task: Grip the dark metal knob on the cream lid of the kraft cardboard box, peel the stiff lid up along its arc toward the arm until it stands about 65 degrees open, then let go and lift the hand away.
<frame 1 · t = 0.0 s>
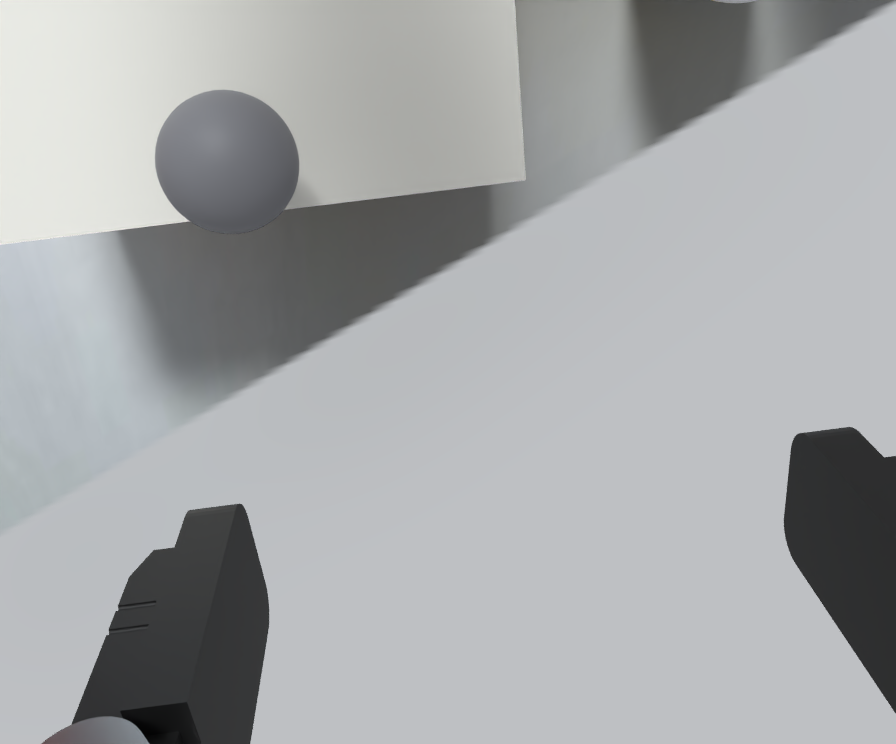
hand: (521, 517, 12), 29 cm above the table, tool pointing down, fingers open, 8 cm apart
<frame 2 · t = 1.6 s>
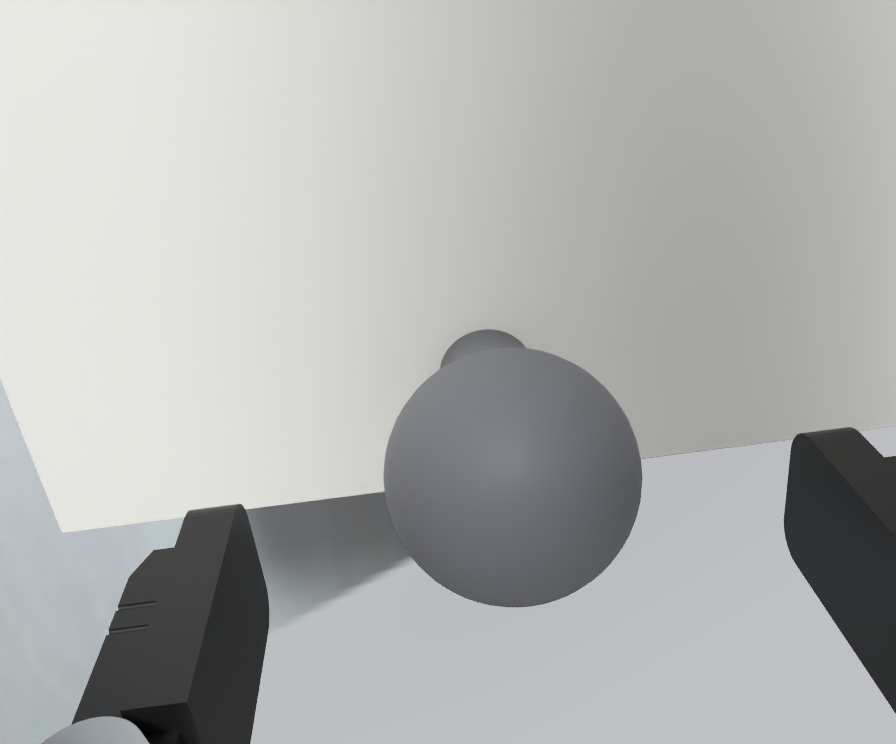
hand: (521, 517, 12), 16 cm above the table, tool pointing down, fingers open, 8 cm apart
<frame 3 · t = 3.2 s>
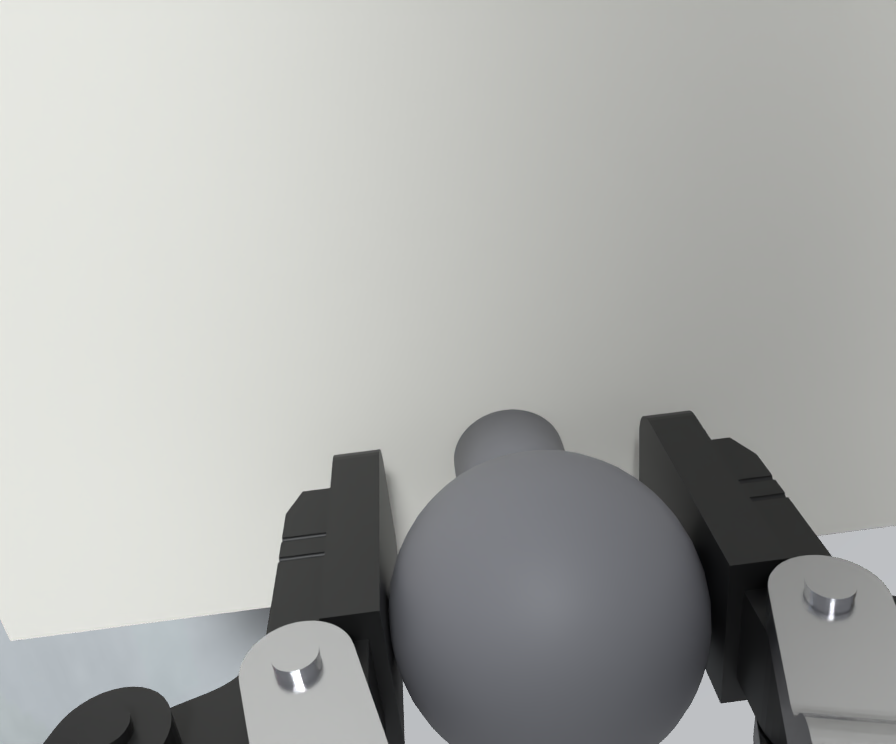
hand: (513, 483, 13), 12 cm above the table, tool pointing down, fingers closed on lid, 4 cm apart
lid: (490, 2, 9), point 13 cm above the table, hinge at 0.0°, touching gripper
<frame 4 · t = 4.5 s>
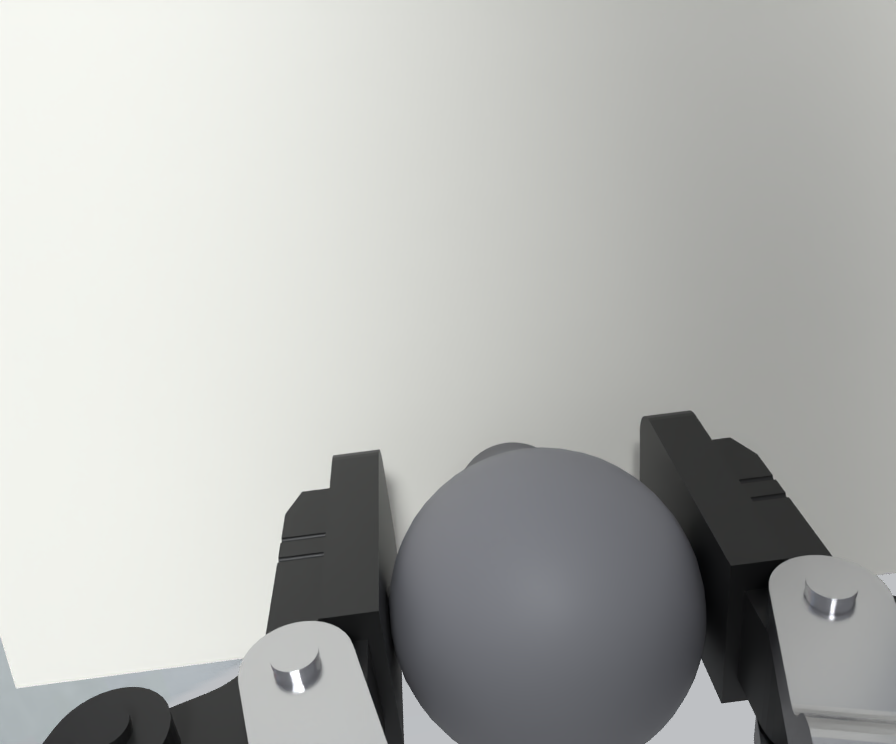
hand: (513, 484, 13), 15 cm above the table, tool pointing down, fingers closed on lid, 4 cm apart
lid: (478, 36, 10), point 15 cm above the table, hinge at 12.1°, touching gripper
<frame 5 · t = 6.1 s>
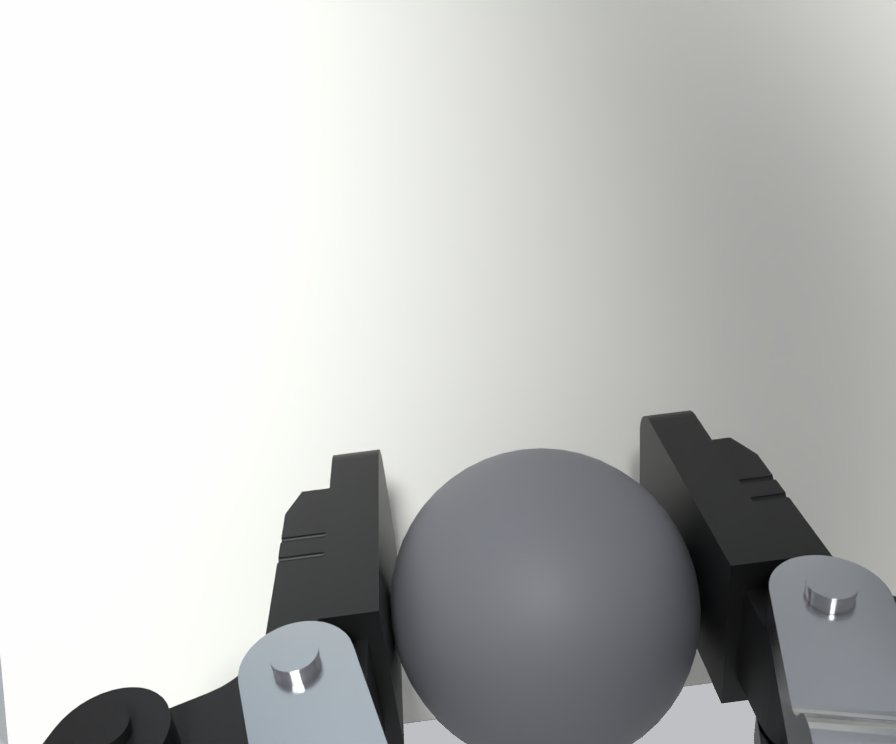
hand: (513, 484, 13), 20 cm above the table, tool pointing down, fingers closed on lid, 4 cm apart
lid: (471, 119, 13), point 18 cm above the table, hinge at 32.3°, touching gripper
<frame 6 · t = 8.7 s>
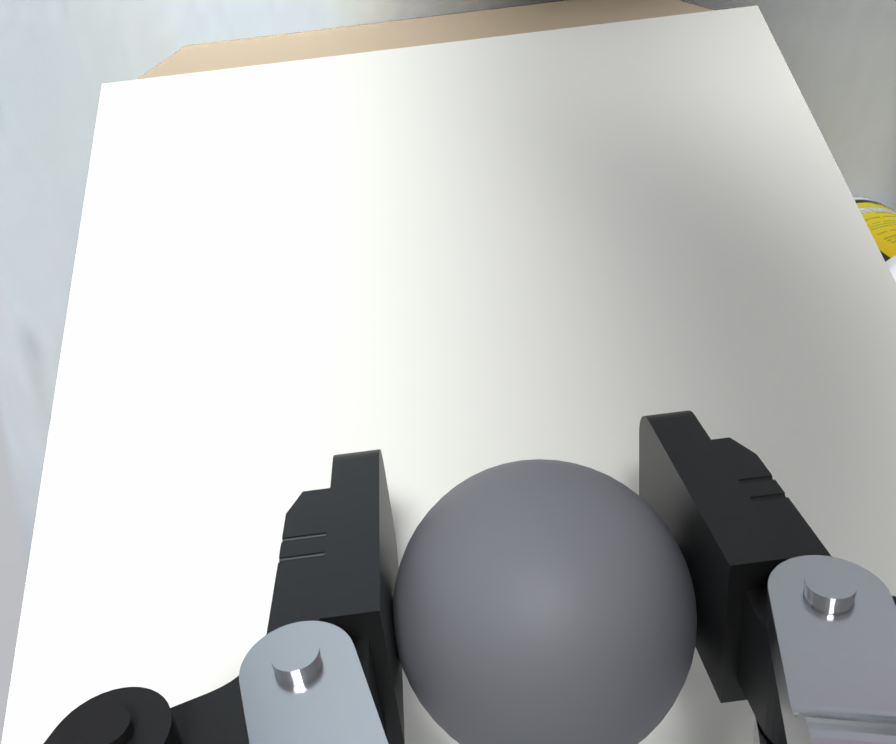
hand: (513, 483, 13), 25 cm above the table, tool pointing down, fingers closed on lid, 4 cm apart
carton: (442, 248, 37), on the table
supplement bottle: (833, 250, 39), on the table
lid: (475, 262, 16), point 20 cm above the table, hinge at 60.4°, touching gripper
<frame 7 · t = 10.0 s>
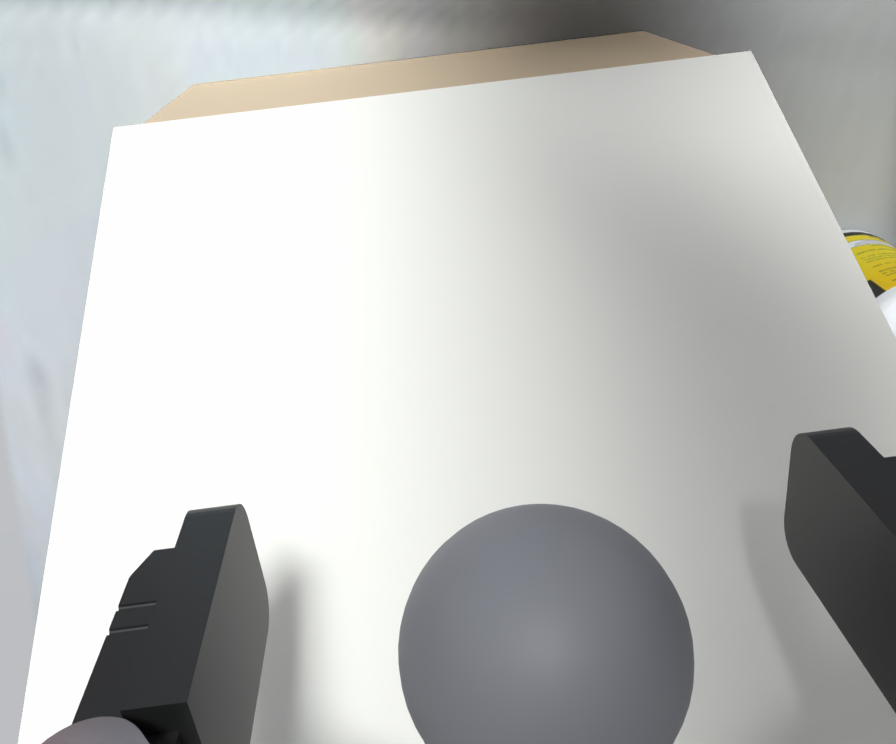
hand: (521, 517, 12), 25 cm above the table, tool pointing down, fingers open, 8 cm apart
carton: (444, 280, 38), on the table
supplement bottle: (830, 281, 39), on the table
lid: (477, 306, 16), point 20 cm above the table, hinge at 60.6°
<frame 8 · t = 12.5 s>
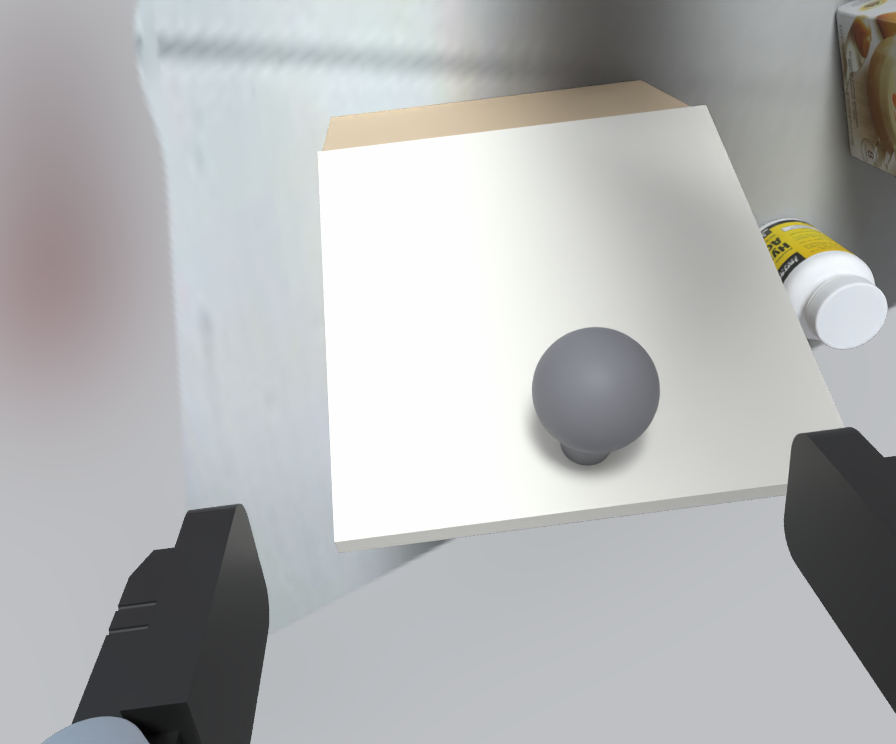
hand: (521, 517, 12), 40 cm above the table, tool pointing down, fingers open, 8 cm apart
carton: (498, 254, 53), on the table
supplement bottle: (776, 255, 54), on the table
lid: (552, 250, 32), point 20 cm above the table, hinge at 60.6°
coffee box: (891, 66, 50), on the table
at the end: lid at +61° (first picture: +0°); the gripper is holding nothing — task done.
